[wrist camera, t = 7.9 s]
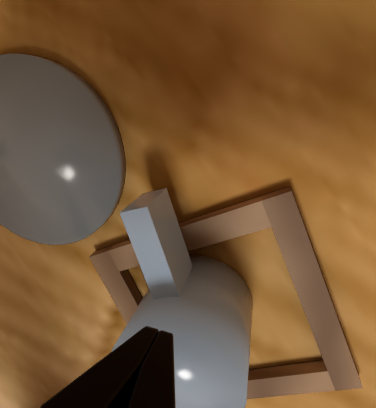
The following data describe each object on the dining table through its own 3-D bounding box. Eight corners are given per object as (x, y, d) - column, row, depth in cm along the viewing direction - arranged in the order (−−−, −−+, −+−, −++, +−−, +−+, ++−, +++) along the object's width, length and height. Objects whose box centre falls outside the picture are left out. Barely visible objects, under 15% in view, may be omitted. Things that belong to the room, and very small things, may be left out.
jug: (265, 344, 19) (264, 445, 14) (172, 349, 21) (139, 439, 16) (216, 170, 16) (190, 212, 11) (113, 196, 18) (46, 242, 13)
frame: (175, 395, 23) (172, 405, 22) (95, 251, 20) (88, 257, 19) (358, 376, 18) (362, 387, 17) (290, 186, 15) (291, 191, 15)
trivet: (24, 257, 21) (15, 263, 21) (-69, 107, 19) (-82, 108, 18) (157, 209, 18) (152, 214, 17) (63, 14, 15) (53, 10, 14)
